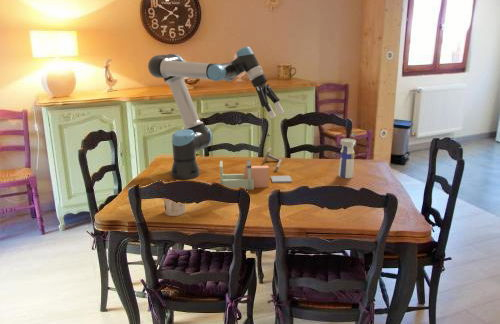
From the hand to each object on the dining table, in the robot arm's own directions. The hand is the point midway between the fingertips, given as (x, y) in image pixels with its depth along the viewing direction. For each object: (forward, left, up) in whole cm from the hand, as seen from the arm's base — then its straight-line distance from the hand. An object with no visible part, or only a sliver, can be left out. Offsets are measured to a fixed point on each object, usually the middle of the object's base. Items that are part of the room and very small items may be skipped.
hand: (277, 115), depth 201 cm
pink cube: (-11, -8, -34) cm, 36 cm away
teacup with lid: (-48, -38, -34) cm, 70 cm away
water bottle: (+37, +4, -34) cm, 50 cm away
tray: (+2, 0, -33) cm, 34 cm away
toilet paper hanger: (0, +26, -34) cm, 43 cm away
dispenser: (-21, -8, -33) cm, 40 cm away
